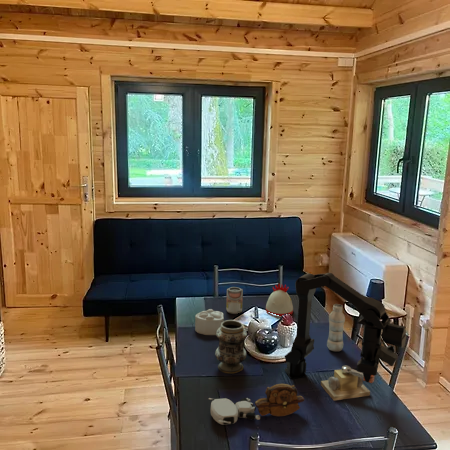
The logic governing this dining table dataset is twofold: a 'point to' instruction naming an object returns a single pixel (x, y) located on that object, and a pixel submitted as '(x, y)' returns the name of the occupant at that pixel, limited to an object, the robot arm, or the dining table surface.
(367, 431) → the dining table surface
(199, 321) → the lumpy-topped squat cylinder
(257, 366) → the dining table surface
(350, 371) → the lever
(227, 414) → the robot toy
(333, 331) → the plastic bottle
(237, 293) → the beige cylinder
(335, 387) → the valve board
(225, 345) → the apothecary jar
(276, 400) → the wooden carving
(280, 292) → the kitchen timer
